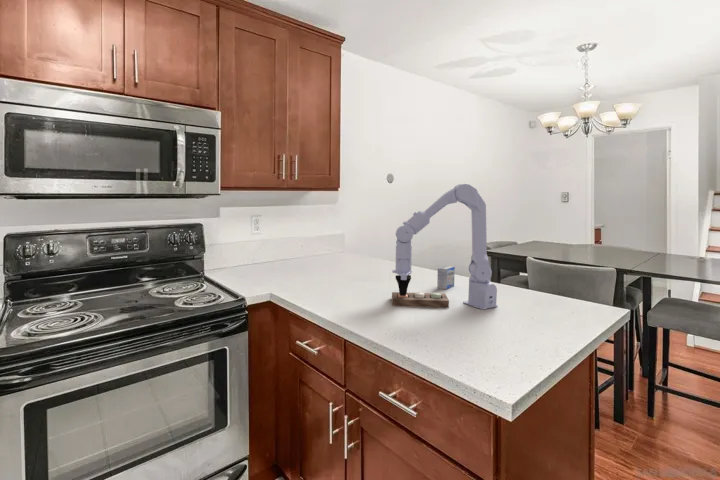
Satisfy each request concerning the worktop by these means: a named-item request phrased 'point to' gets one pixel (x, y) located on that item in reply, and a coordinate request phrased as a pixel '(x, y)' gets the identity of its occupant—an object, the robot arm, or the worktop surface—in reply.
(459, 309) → the worktop surface
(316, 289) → the worktop surface
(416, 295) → the cream button
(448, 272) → the medicine box
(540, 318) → the worktop surface
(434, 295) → the sage button
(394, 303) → the button panel
